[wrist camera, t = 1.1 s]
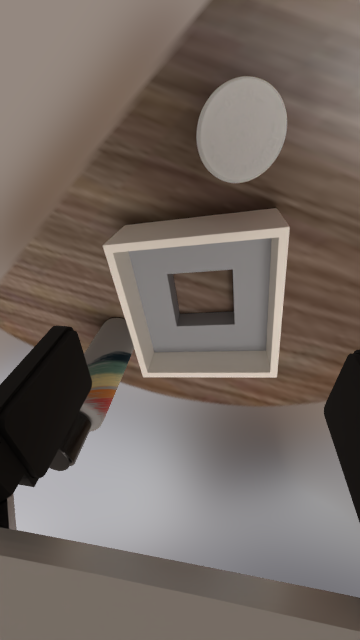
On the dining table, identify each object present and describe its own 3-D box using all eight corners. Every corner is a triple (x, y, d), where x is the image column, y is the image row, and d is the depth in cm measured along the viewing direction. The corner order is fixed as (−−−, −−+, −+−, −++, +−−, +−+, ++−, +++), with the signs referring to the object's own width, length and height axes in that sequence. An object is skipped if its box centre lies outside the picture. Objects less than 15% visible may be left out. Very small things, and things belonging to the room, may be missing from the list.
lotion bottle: (112, 348, 43) (45, 478, 27) (96, 320, 40) (9, 446, 24) (144, 343, 42) (93, 477, 25) (129, 313, 39) (60, 443, 22)
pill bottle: (259, 176, 27) (276, 198, 18) (198, 166, 27) (184, 183, 18) (280, 96, 23) (316, 72, 14) (210, 86, 23) (200, 55, 14)
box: (276, 207, 28) (289, 226, 22) (269, 340, 38) (276, 377, 32) (124, 225, 31) (102, 245, 26) (154, 343, 41) (143, 377, 36)
